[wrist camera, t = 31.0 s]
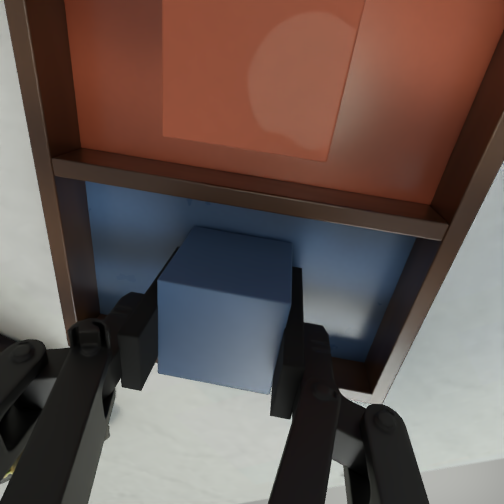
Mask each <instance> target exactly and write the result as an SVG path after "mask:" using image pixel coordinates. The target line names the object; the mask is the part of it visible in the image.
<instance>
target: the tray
mask: <svg viewBox="0 0 504 504" xmlns="http://www.w3.org/2000/svg"><path fill="white" fill-rule="evenodd" d="M4 4H5V9H6V14H7V20H8V25H9V30H10V36H11V41H12V46H13V52H14V57H15V62H16V68H17V73H18V78H19V84H20V89H21V94H22V100H23V105H24V110H25V116H26V121H27V126H28V132H29V137H30V143H31V148H32V153H33V159H34V164H35V169H36V175H37V180H38V185H39V191H40V196H41V201H42V207H43V212H44V217H45V223H46V228H47V233H48V239H49V244H50V249H51V255H52V260H53V265H54V271H55V276H56V281H57V287H58V292H59V297H60V303H61V308H62V314H63V319H64V324H65V330H66V335H67V341H68V346H70V343H69V338H68V332H67V330H68V329H69V328H70V327H71V325H73V324H75V323H76V322H78V321H81V320H83V319H88V318H98V319H102V320H104V319H105V317H106V316H107V315H108V314H109V313H110V311H111V310H112V309H113V307H115V305H116V304H117V302H118V301H119V300H120V298H121V297H123V296H125V295H126V294H128V293H129V292H137V293H142V294H145V293H146V291H147V290H148V288H149V287H150V285H151V284H152V283H153V281H154V280H155V278H156V277H157V275H158V274H159V272H160V271H161V270H162V268H163V267H164V265H165V264H166V262H167V261H168V260H169V258H170V257H171V255H172V254H173V252H174V251H175V249H176V248H177V247H180V246H181V245H182V243H183V242H184V240H185V239H186V238H187V236H188V235H189V233H190V232H191V230H192V229H193V227H200V228H206V229H212V230H218V231H223V232H229V233H235V234H241V235H246V236H252V237H258V238H264V239H269V240H275V241H281V242H287V243H292V266H293V267H299V268H302V282H303V311H304V322H307V323H312V324H318V325H323V326H324V328H325V330H326V331H327V333H328V334H329V341H330V349H331V357H332V365H333V373H334V380H335V384H336V386H337V387H338V388H339V390H340V392H341V394H342V395H343V396H344V397H346V398H347V399H349V400H354V401H360V402H365V403H370V404H382V403H383V401H384V399H385V397H386V395H387V393H388V391H389V389H390V387H391V385H392V383H393V381H394V379H395V377H396V375H397V373H398V371H399V369H400V367H401V365H402V363H403V361H404V359H405V357H406V355H407V353H408V351H409V349H410V347H411V345H412V343H413V341H414V339H415V337H416V335H417V333H418V331H419V329H420V327H421V325H422V323H423V321H424V319H425V317H426V315H427V313H428V311H429V309H430V307H431V305H432V303H433V301H434V299H435V297H436V295H437V293H438V291H439V289H440V287H441V285H442V283H443V281H444V279H445V277H446V275H447V273H448V271H449V269H450V267H451V265H452V263H453V261H454V259H455V257H456V255H457V253H458V251H459V249H460V247H461V245H462V243H463V241H464V239H465V237H466V235H467V233H468V231H469V229H470V227H471V225H472V223H473V221H474V219H475V217H476V215H477V213H478V211H479V209H480V207H481V205H482V203H483V201H484V199H485V197H486V195H487V193H488V191H489V189H490V187H491V185H492V183H493V181H494V179H495V177H496V175H497V173H498V171H499V169H500V167H501V165H502V163H503V161H504V0H366V1H365V6H364V10H363V14H362V18H361V22H360V26H359V30H358V35H357V39H356V43H355V47H354V51H353V55H352V60H351V64H350V68H349V72H348V76H347V80H346V84H345V89H344V93H343V97H342V101H341V105H340V109H339V113H338V118H337V122H336V126H335V130H334V134H333V138H332V142H331V147H330V151H329V155H328V159H327V161H326V162H318V161H312V160H306V159H300V158H294V157H288V156H281V155H275V154H269V153H263V152H257V151H250V150H244V149H238V148H232V147H226V146H219V145H213V144H207V143H201V142H195V141H188V140H182V139H176V138H170V137H164V136H163V135H162V0H4ZM155 363H158V357H157V360H156V362H155Z"/></svg>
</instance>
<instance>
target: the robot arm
mask: <svg viewBox="0 0 504 504" xmlns="http://www.w3.org/2000/svg"><path fill="white" fill-rule="evenodd" d="M179 248H180V247H177V248H176V249H175V251H174V252H173V254H172V255H171V257H170V258H169V260H168V261H167V262H166V264H165V265H164V267H163V268H162V270H161V271H160V272H159V274H158V275H157V277H156V278H155V280H154V281H153V283H152V284H151V285H150V287H149V288H148V290H147V291H146V293H145V294H142V293H137V292H129V293H128V294H126V295H125V296H123V297H121V298H120V300H119V301H118V302H117V304H116V305H115V307H113V309H112V310H111V311H110V313H109V314H108V315H107V316H106V317H105V319H104V320H102V319H98V318H88V319H83V320H81V321H78V322H76V323H75V324H73V325H71V327H70V328H69V329H68V330H67V332H68V338H69V343H70V348H62V349H48V350H46V347H45V345H44V344H43V342H41V341H38V340H30V339H28V340H23V341H19V342H17V343H14V344H12V345H10V346H9V347H7V348H6V349H5V350H3V351H2V352H1V353H0V482H1V480H2V479H3V477H4V476H5V475H6V473H7V472H8V470H9V469H10V468H11V466H12V465H13V464H14V462H15V461H16V459H17V458H18V457H19V455H20V454H21V452H22V451H23V450H24V451H23V453H22V455H21V457H20V459H19V461H18V464H17V466H16V468H15V470H14V472H13V474H12V477H11V479H10V481H9V483H8V485H7V488H6V490H5V492H4V494H3V496H2V498H1V501H0V504H88V501H89V497H90V493H91V489H92V486H93V482H94V478H95V474H96V470H97V466H98V462H99V458H100V455H101V451H102V447H103V443H104V439H105V435H106V431H107V427H108V424H109V420H110V416H111V412H112V408H113V404H114V400H115V394H116V391H115V387H116V385H117V383H118V382H119V380H120V378H121V384H122V387H124V388H129V389H134V390H140V391H141V390H142V388H143V386H144V384H145V382H146V380H147V378H148V376H149V374H150V372H151V370H152V368H153V366H154V364H155V362H156V360H157V357H158V305H157V280H158V278H159V277H160V275H161V274H162V272H163V271H164V270H165V268H166V267H167V265H168V264H169V262H170V261H171V259H172V258H173V256H174V255H175V254H176V252H177V251H178V249H179ZM291 415H292V424H291V428H290V431H289V434H288V437H287V441H286V444H285V448H284V451H283V454H282V458H281V461H280V464H279V468H278V471H277V474H276V478H275V481H274V484H273V488H272V491H271V494H270V498H269V501H268V504H325V498H326V492H327V486H328V479H329V473H330V467H331V461H332V459H333V460H335V461H337V462H338V463H340V464H342V465H343V468H344V477H345V486H346V494H347V504H429V501H428V498H427V494H426V491H425V488H424V485H423V481H422V478H421V475H420V471H419V468H418V465H417V462H416V458H415V455H414V452H413V448H412V445H411V442H410V439H409V435H408V432H407V429H406V426H405V424H404V422H403V420H402V418H401V417H400V416H399V415H398V414H397V412H395V411H394V410H393V409H391V408H390V407H388V406H385V405H382V404H372V405H369V406H368V407H367V408H364V407H362V406H360V405H357V404H355V403H353V402H352V401H350V400H348V399H347V398H346V397H344V396H343V395H342V394H341V392H340V390H339V388H338V387H337V386H336V384H335V380H334V373H333V365H332V357H331V349H330V341H329V334H328V333H327V331H326V330H325V328H324V326H323V325H318V324H312V323H307V322H304V311H303V282H302V268H299V267H293V266H292V296H291V308H290V312H289V316H288V320H287V325H286V328H285V329H284V333H283V337H282V342H281V346H280V350H279V354H278V358H277V363H276V367H275V371H274V375H273V383H272V397H271V410H270V416H275V417H280V418H285V419H290V418H291Z"/></svg>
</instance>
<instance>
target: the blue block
mask: <svg viewBox="0 0 504 504" xmlns="http://www.w3.org/2000/svg"><path fill="white" fill-rule="evenodd" d="M291 296H292V243H287V242H281V241H275V240H269V239H264V238H258V237H252V236H246V235H241V234H235V233H229V232H223V231H218V230H212V229H206V228H200V227H193V229H192V230H191V232H190V233H189V235H188V236H187V238H186V239H185V240H184V242H183V243H182V245H181V246H180V248H179V249H178V251H177V252H176V254H175V255H174V256H173V258H172V259H171V261H170V262H169V264H168V265H167V267H166V268H165V270H164V271H163V272H162V274H161V275H160V277H159V278H158V280H157V305H158V373H159V374H164V375H169V376H175V377H180V378H185V379H190V380H195V381H200V382H206V383H211V384H216V385H221V386H226V387H231V388H237V389H242V390H247V391H252V392H257V393H262V394H270V391H271V387H272V383H273V375H274V371H275V367H276V363H277V358H278V354H279V350H280V346H281V342H282V337H283V333H284V329H285V328H286V325H287V320H288V316H289V312H290V308H291Z"/></svg>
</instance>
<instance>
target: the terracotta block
mask: <svg viewBox="0 0 504 504" xmlns="http://www.w3.org/2000/svg"><path fill="white" fill-rule="evenodd" d="M365 1H366V0H162V135H163V136H164V137H170V138H176V139H182V140H188V141H195V142H201V143H207V144H213V145H219V146H226V147H232V148H238V149H244V150H250V151H257V152H263V153H269V154H275V155H281V156H288V157H294V158H300V159H306V160H312V161H318V162H326V161H327V159H328V155H329V151H330V147H331V142H332V138H333V134H334V130H335V126H336V122H337V118H338V113H339V109H340V105H341V101H342V97H343V93H344V89H345V84H346V80H347V76H348V72H349V68H350V64H351V60H352V55H353V51H354V47H355V43H356V39H357V35H358V30H359V26H360V22H361V18H362V14H363V10H364V6H365Z"/></svg>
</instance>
